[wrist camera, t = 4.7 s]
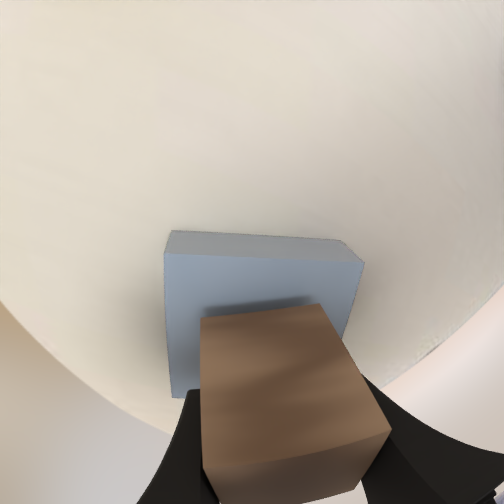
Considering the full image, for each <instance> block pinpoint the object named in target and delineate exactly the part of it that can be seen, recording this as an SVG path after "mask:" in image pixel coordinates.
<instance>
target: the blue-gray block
mask: <svg viewBox="0 0 504 504" xmlns="http://www.w3.org/2000/svg"><path fill="white" fill-rule="evenodd" d="M363 266H364V262H363V261H362V260H361V259H360V258H359V257H358V256H357V255H356V254H355V253H354V252H353V251H351V250H350V249H349V248H348V247H347V246H346V245H345V244H344V243H343V242H342V241H340V240H328V239H313V238H298V237H283V236H267V235H251V234H233V233H215V232H196V231H176V230H172V231H171V234H170V237H169V240H168V243H167V246H166V248H165V251H164V289H165V315H166V333H167V348H168V361H169V372H170V382H171V392H172V398H186V394H187V391H188V390H190V389H200V318H202V317H212V316H222V315H232V314H241V313H250V312H258V311H266V310H274V309H282V308H290V307H297V306H304V305H311V304H318V303H320V305H321V306H322V308H323V310H324V311H325V313H326V315H327V316H328V318H329V320H330V321H331V323H332V325H333V326H334V328H335V330H336V332H337V333H338V335H339V337H340V338H341V339H342V336H343V333H344V330H345V327H346V324H347V321H348V317H349V314H350V311H351V308H352V305H353V301H354V298H355V295H356V291H357V288H358V284H359V281H360V277H361V274H362V270H363Z"/></svg>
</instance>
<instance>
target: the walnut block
mask: <svg viewBox="0 0 504 504" xmlns="http://www.w3.org/2000/svg"><path fill="white" fill-rule="evenodd" d="M200 403H201V436H202V458H203V469H204V471H205V473H206V475H207V477H208V479H209V481H210V483H211V485H212V487H213V489H214V491H215V493H216V495H217V497H218V499H219V501H220V503H221V504H302V503H307V502H311V501H315V500H319V499H323V498H327V497H331V496H334V495H338V494H341V493H345V492H348V491H351V490H354V489H355V487H356V486H357V484H358V483H359V481H360V480H361V479H362V477H363V476H364V474H365V473H366V471H367V470H368V468H369V467H370V465H371V464H372V462H373V460H374V459H375V457H376V456H377V454H378V452H379V451H380V449H381V447H382V446H383V444H384V442H385V441H386V439H387V437H388V435H389V434H390V432H391V430H392V428H391V427H390V425H389V423H388V421H387V419H386V417H385V416H384V414H383V412H382V410H381V408H380V407H379V405H378V403H377V401H376V399H375V398H374V396H373V394H372V392H371V391H370V389H369V387H368V385H367V383H366V382H365V380H364V378H363V376H362V375H361V373H360V371H359V369H358V368H357V366H356V364H355V362H354V361H353V359H352V357H351V356H350V354H349V352H348V350H347V349H346V347H345V345H344V343H343V342H342V340H341V338H340V337H339V335H338V333H337V332H336V330H335V328H334V326H333V325H332V323H331V321H330V320H329V318H328V316H327V315H326V313H325V311H324V310H323V308H322V306H321V305H320V303H318V304H311V305H304V306H297V307H290V308H282V309H274V310H266V311H258V312H250V313H241V314H232V315H222V316H212V317H202V318H200Z"/></svg>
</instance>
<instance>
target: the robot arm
mask: <svg viewBox="0 0 504 504" xmlns="http://www.w3.org/2000/svg"><path fill="white" fill-rule="evenodd" d="M361 375H362V374H361ZM362 376H363V375H362ZM363 378H364V380H365V382H366V383H367V385H368V387H369V389H370V391H371V392H372V394H373V396H374V398H375V399H376V401H377V403H378V405H379V407H380V408H381V410H382V412H383V414H384V416H385V417H386V419H387V421H388V423H389V425H390V427H391V428H392V430H391V432H390V434H389V435H388V437H387V439H386V441H385V442H384V444H383V446H382V447H381V449H380V451H379V452H378V454H377V456H376V457H375V459H374V460H373V462H372V464H371V465H370V467H369V468H368V470H367V471H366V473H365V474H364V476H363V477H362V479H361V481H362V485H363V487H364V491H365V494H366V497H367V501H368V504H504V491H503V492H502V493H501V494H500V495H499V496H497V497H496V498H495V500H494V498H493V497H494V496H495V495H496V492H495V490H494V489H495V488H496V487H498V486H499V485H500V484H501V483H502V482H503V481H504V454H501V453H496V452H492V451H487V450H483V449H480V448H477V447H473V446H471V445H468V444H465V443H463V442H460V441H458V440H455V439H453V438H451V437H449V436H446V435H444V434H442V433H440V432H439V431H437V430H435V429H433V428H431V427H429V426H428V425H426V424H424V423H423V422H421V421H420V420H418V419H417V418H415V417H414V416H412V415H411V414H409V413H408V412H407V411H405V410H404V409H402V408H401V407H400V406H398V405H397V404H396V403H395V402H393V401H392V400H391V399H390V398H389V397H387V396H386V395H385V394H384V393H382V392H381V391H380V390H379V389H378V388H377V387H376V386H374V385H373V384H372V383H371V382H370V381H369V380H368V379H367V378H366V377H364V376H363ZM137 504H220V501H219V499H218V497H217V495H216V493H215V491H214V489H213V487H212V485H211V483H210V481H209V479H208V477H207V475H206V473H205V471H204V469H203V458H202V436H201V403H200V389H190V390H188V391H187V394H186V399H185V402H184V406H183V409H182V413H181V416H180V419H179V422H178V424H177V427H176V430H175V432H174V435H173V437H172V440H171V442H170V445H169V447H168V449H167V451H166V453H165V455H164V458H163V460H162V462H161V464H160V466H159V468H158V470H157V472H156V474H155V475H154V477H153V479H152V481H151V482H150V484H149V486H148V487H147V489H146V490H145V492H144V493H143V495H142V496H141V498H140V499H139V501H138V502H137Z"/></svg>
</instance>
